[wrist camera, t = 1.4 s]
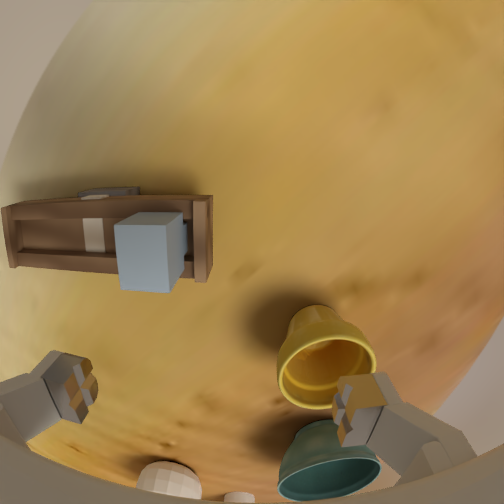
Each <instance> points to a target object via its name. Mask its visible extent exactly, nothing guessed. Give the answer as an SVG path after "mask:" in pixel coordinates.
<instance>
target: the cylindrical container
mask: <svg viewBox="0 0 504 504" xmlns="http://www.w3.org/2000/svg"><path fill="white" fill-rule="evenodd" d="M224 502H241V503H255V497H254V496H253V495H252V494H250V493H246V492H230V493H227V494H225V496H224Z"/></svg>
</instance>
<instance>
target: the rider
mask: <svg viewBox="0 0 504 504" xmlns="http://www.w3.org/2000/svg"><path fill="white" fill-rule="evenodd" d="M114 233H115V245H116V255H117V264H118V272H119V280H120V287H121V290H133V291H146V292H160V293H170V292H171V290H172V289H173V287H174V285H175V284H176V282H177V280H178V279H179V277H180V275H181V274H182V272H183V270H184V255H185V254H186V252H187V251H188V243H187V222H183V212H138V213H136V214H134V215H132V216H130V217H128V218H126V219H124V220H122V221H120V222H118V223H116V224H115V225H114Z"/></svg>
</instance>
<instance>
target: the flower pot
mask: <svg viewBox="0 0 504 504" xmlns="http://www.w3.org/2000/svg"><path fill="white" fill-rule="evenodd" d="M338 428H339V426H338V425H337V424H336V423H334V420H321V421H317V422H314V423H311V424H309V425H307V426H305V427H303V428H302V429H300V430H299V431H298V432H297V434H296V436H295V439H294V441H293V442H292V444H291V445H290V446H289V448H288V449H287V451H286V453H285V455H284V457H283V459H282V462H281V466H280V471H279V481H278V488H277V490H278V493H279V494H280V495H281V496H283V497H284V498H287V499H289V500H292V501H298V502H300V501H312V500H322V499H330V498H337V497H344V496H347V495H350V494H352V493H355V492H357V491H359V490H361V489H363V488H364V487H366V486H367V485H369V484H370V483H372V482H373V481H374V480H375V479H376V478H377V477H378V476H379V474H380V472H381V469H382V466H381V464H380V462H379V460H378V459H377V458H376V455H375V453H374V452H373V451H372V450H370V449H369V448H368V447H367V446H366V445H359V446H350V447H341V445H340V441H339V438H338V434H337V431H338Z"/></svg>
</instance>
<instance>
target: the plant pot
mask: <svg viewBox="0 0 504 504" xmlns="http://www.w3.org/2000/svg"><path fill="white" fill-rule="evenodd" d="M375 370H376V357H375V353H374V351H373V349H372V347H371V345H370V343H369V341H368V340H367V338H366V337H365V335H364V334H363V332H362V331H361V330H360V329H359V328H357V327H356V326H354V325H353V324H351V323H348V322H345V321H344V320H343V319H342V318H341V317H340V316H339V315H338V314H337V313H336V312H335V311H334V310H332V309H331V308H329V307H327V306H323V305H312V306H308V307H305V308H303V309H301V310H300V311H298V312H297V313H296V314H295V315H294V316H293V318H292V319H291V321H290V323H289V327H288V332H287V337H286V340H285V341H284V343H283V344H282V346H281V348H280V350H279V353H278V357H277V381H278V386H279V389H280V391H281V393H282V394H283V395H284V397H285V398H286V399H287V400H289V401H290V402H292V403H293V404H295V405H297V406H300V407H303V408H308V409H327V408H332V403H333V398H334V395H336V394H337V393H338V392H339V391H338V388H337V383H338V380H339V378H340V376H350V375H362V374H370V373H375Z"/></svg>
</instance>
